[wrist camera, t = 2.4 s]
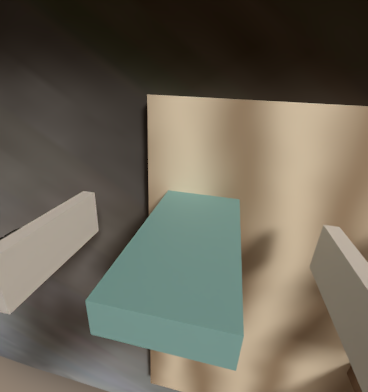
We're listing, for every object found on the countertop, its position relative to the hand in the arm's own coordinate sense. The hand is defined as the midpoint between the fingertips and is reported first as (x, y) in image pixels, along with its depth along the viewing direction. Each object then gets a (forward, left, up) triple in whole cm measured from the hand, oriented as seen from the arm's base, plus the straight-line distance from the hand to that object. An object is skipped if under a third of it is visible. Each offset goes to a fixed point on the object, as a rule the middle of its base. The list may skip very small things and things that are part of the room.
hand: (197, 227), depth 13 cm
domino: (0, 0, -3) cm, 3 cm away
